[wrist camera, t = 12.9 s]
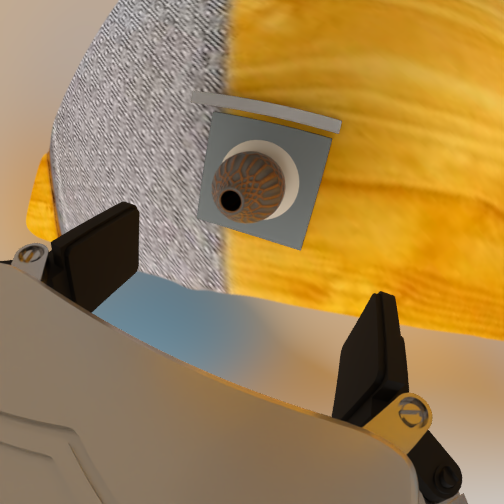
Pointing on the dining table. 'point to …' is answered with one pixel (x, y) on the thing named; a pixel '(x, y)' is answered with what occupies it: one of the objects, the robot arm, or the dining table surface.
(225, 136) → the mat
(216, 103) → the low wall
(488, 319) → the dining table surface
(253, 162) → the vase
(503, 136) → the dining table surface
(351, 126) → the dining table surface
